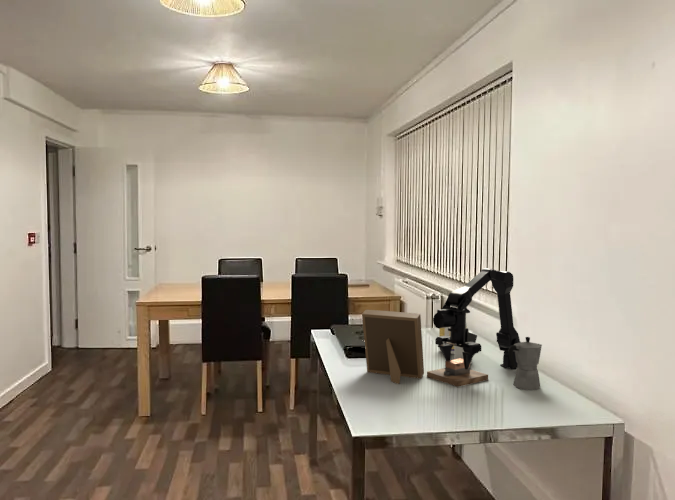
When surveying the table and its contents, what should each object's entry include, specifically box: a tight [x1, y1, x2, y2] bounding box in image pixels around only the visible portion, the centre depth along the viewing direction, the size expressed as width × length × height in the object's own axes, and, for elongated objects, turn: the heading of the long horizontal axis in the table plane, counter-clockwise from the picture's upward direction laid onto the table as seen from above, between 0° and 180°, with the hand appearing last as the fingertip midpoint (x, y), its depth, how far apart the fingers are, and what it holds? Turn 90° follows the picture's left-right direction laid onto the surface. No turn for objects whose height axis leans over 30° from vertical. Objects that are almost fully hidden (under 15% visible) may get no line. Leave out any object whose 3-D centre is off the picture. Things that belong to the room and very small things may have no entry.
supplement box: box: [453, 330, 474, 365], centre depth 245 cm, size 7×7×13 cm
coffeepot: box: [508, 336, 543, 391], centre depth 208 cm, size 15×9×18 cm, turn 116°
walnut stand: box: [426, 367, 489, 388], centre depth 219 cm, size 16×16×2 cm
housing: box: [444, 358, 471, 376], centre depth 219 cm, size 5×10×5 cm, turn 124°
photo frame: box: [361, 309, 425, 385], centre depth 220 cm, size 15×22×25 cm
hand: (457, 366), depth 219 cm, fingers open, 9 cm apart
